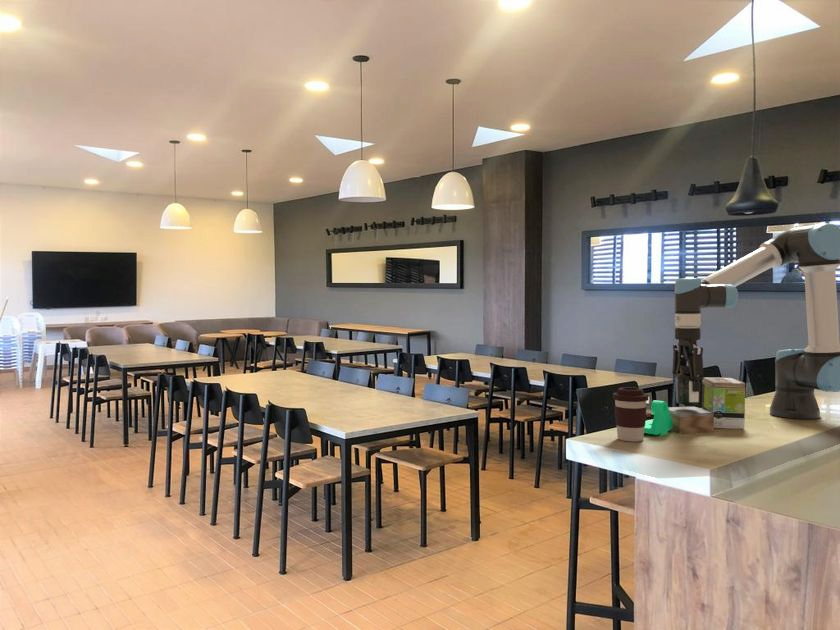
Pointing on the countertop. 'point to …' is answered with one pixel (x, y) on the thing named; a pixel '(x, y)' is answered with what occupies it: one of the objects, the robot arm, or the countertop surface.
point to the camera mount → (659, 419)
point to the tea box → (724, 401)
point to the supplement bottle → (684, 386)
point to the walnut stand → (691, 420)
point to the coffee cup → (630, 413)
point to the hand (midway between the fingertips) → (687, 399)
